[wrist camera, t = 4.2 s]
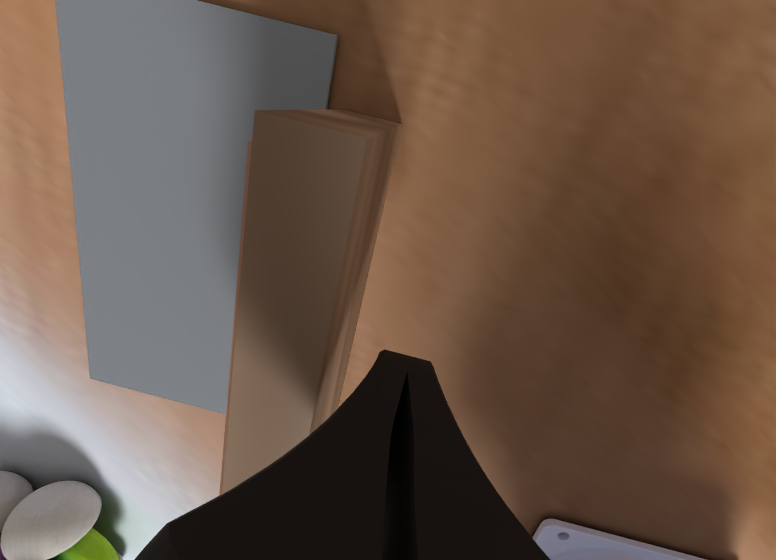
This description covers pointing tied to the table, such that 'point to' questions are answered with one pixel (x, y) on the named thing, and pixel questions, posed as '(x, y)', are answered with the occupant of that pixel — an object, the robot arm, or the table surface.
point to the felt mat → (171, 175)
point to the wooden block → (300, 275)
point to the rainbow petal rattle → (50, 521)
